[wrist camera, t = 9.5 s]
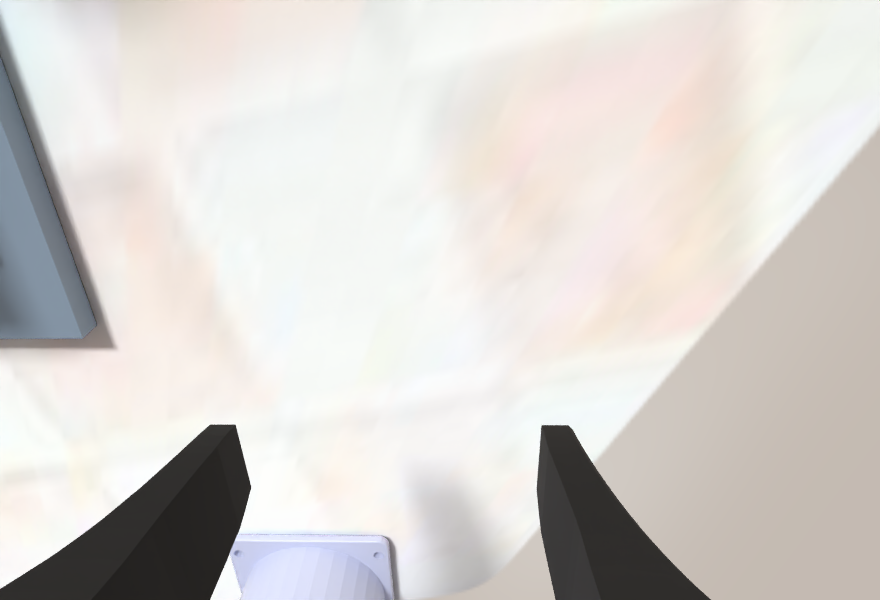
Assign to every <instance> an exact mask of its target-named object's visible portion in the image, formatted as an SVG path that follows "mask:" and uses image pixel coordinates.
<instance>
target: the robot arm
mask: <svg viewBox="0 0 880 600" xmlns="http://www.w3.org/2000/svg"><path fill="white" fill-rule="evenodd" d="M250 490H251V485H250V481H249V477H248V473H247V469H246V465H245V461H244V457H243V453H242V449H241V445H240V441H239V437H238V433H237V429H236V425H209V426H208V427H207V428H206V429H205V430H204V431H202V432H201V433H200V434H199V435H198V436H197V437H196V438H195V439H194V440H193V441H192V442H190V443H189V444H188V445H187V446H186V447H185V448H184V449H183V450H182V451H181V452H180V453H179V454H178V455H176V456H175V457H174V458H173V459H172V460H171V461H170V462H169V463H168V464H167V465H165V466H164V467H163V468H162V469H161V470H160V471H159V472H158V473H157V474H155V475H154V476H153V477H152V478H151V479H150V480H149V481H148V482H147V483H145V484H144V485H143V486H142V487H141V488H140V489H138V490H137V491H136V492H135V493H134V494H132V495H131V496H130V497H129V498H128V499H126V500H125V501H124V502H123V503H122V504H120V505H119V506H118V507H117V508H116V509H114V510H113V511H112V512H111V513H109V514H108V515H107V516H106V517H105V518H103V519H102V520H101V521H100V522H98V523H97V524H96V525H94V526H93V527H92V528H90V529H89V530H88V531H86V532H85V533H84V534H82V535H81V536H80V537H78V538H77V539H76V540H74V541H73V542H71V543H70V544H69V545H67V546H66V547H64V548H63V549H61V550H60V551H59V552H57V553H56V554H54V555H53V556H51V557H50V558H48V559H47V560H45V561H44V562H42V563H41V564H39V565H37V566H36V567H34V568H33V569H31V570H30V571H28V572H26V573H25V574H23V575H22V576H20V577H19V578H17V579H15V580H14V581H12V582H11V583H9V584H7V585H6V586H4V587H3V588H1V589H0V600H210V598H211V596H212V594H213V591H214V589H215V587H216V584H217V582H218V580H219V577H220V575H221V572H222V570H223V568H224V565H225V563H226V561H227V558H228V556H229V554H230V556H231V559H232V563H233V566H234V570H235V573H236V576H237V580H238V583H239V586H240V590H241V593H242V595H241V597H240V600H394V590H393V580H392V569H391V559H390V549H389V542H388V540H387V539H386V538H385V537H382V536H358V535H258V534H238V532H239V529H240V526H241V523H242V519H243V516H244V512H245V509H246V505H247V501H248V498H249V494H250ZM537 497H538V508H539V517H540V526H541V534H542V538H543V543H544V548H545V553H546V557H547V562H548V567H549V571H550V576H551V581H552V585H553V590H554V594H555V599H556V600H711V599H709V598H708V597H707V596H706V595H705V594H704V593H703V592H702V591H700V590H699V589H698V588H697V587H696V586H695V585H694V584H693V583H692V582H691V581H690V580H689V579H688V578H687V577H686V576H685V575H684V574H683V573H682V572H681V571H680V570H679V569H678V568H677V567H676V566H675V565H674V564H673V563H672V562H671V561H670V560H669V559H668V558H667V557H666V556H665V555H664V554H663V553H662V552H661V551H660V549H659V548H658V547H657V546H656V545H655V544H654V543H653V542H652V541H651V540H650V539H649V537H648V536H647V535H646V534H645V533H644V532H643V530H642V529H641V528H640V527H639V525H638V524H637V523H636V522H635V520H634V519H633V518H632V517H631V516H630V515H629V513H628V512H627V511H626V509H625V508H624V507H623V505H622V504H621V503H620V502H619V500H618V499H617V498H616V496H615V495H614V493H613V492H612V491H611V489H610V488H609V487H608V485H607V484H606V482H605V481H604V480H603V478H602V477H601V475H600V474H599V472H598V471H597V469H596V468H595V466H594V465H593V463H592V462H591V460H590V458H589V457H588V455H587V454H586V452H585V451H584V449H583V447H582V446H581V444H580V442H579V440H578V439H577V437H576V435H575V433H574V431H573V430H572V429H571V428H570V427H569V426H568V425H542V427H541V440H540V453H539V466H538V479H537Z"/></svg>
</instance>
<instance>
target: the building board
mask: <svg viewBox="0 0 880 600" xmlns="http://www.w3.org/2000/svg"><path fill="white" fill-rule="evenodd" d="M96 326H97V324H96V321H95V318H94V315H93V312H92V310H91V307H90V304H89V301H88V299H87V296H86V293H85V290H84V287H83V285H82V282H81V279H80V276H79V274H78V271H77V268H76V265H75V262H74V260H73V257H72V254H71V251H70V249H69V246H68V243H67V240H66V237H65V235H64V232H63V229H62V226H61V224H60V221H59V218H58V215H57V212H56V210H55V207H54V204H53V201H52V198H51V196H50V193H49V190H48V187H47V185H46V182H45V179H44V176H43V173H42V171H41V168H40V165H39V162H38V160H37V157H36V154H35V151H34V148H33V146H32V143H31V140H30V137H29V135H28V132H27V129H26V126H25V123H24V121H23V118H22V115H21V112H20V110H19V107H18V104H17V101H16V98H15V96H14V93H13V90H12V87H11V84H10V82H9V79H8V76H7V73H6V71H5V68H4V65H3V62H2V59H1V57H0V339H83V338H84V337H85V336H86V335H87V334H88V333H89V332H90V331H91V330H92V329H94V328H95V327H96Z"/></svg>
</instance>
